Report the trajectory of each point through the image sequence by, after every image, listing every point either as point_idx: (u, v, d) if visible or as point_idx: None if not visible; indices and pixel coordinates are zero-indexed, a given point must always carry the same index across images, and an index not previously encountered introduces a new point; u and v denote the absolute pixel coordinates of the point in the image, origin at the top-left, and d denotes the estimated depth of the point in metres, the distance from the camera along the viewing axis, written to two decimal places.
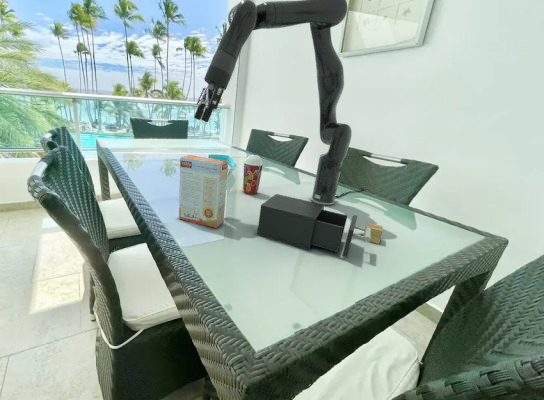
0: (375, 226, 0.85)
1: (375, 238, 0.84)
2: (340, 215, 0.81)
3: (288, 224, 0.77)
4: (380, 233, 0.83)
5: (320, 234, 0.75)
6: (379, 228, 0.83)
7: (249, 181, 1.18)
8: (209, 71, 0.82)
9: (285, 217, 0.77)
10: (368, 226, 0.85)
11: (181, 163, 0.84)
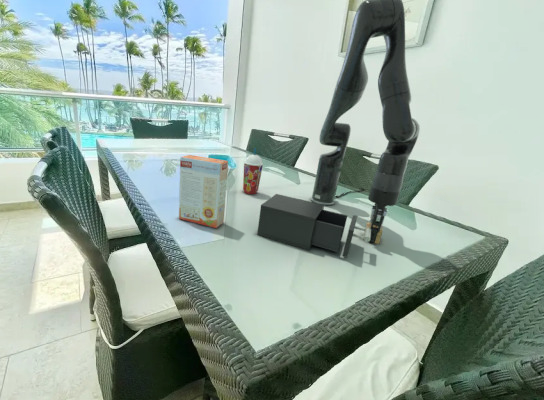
0: (375, 226, 0.85)
1: None
2: (340, 215, 0.81)
3: (288, 224, 0.77)
4: (380, 233, 0.83)
5: (320, 234, 0.75)
6: None
7: (249, 181, 1.18)
8: None
9: (285, 217, 0.77)
10: (368, 226, 0.85)
11: (181, 163, 0.84)
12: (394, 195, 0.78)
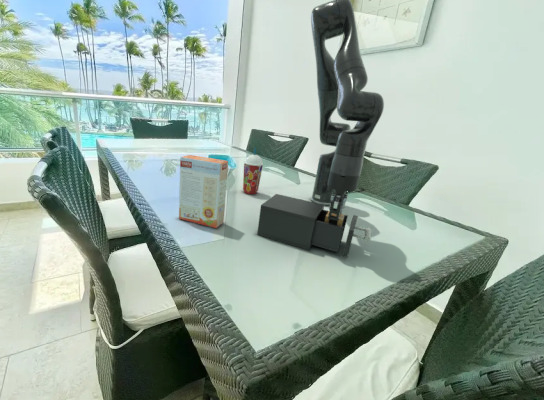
0: (336, 214, 0.78)
1: None
2: None
3: (288, 224, 0.77)
4: (340, 222, 0.75)
5: (320, 235, 0.75)
6: (339, 217, 0.76)
7: (249, 181, 1.18)
8: None
9: (285, 217, 0.77)
10: (328, 215, 0.77)
11: (181, 163, 0.84)
12: (353, 179, 0.70)
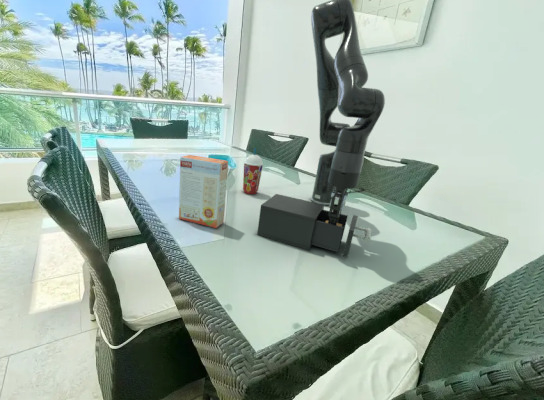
0: None
1: None
2: (340, 215, 0.81)
3: (288, 224, 0.77)
4: None
5: (320, 235, 0.75)
6: None
7: (249, 181, 1.18)
8: None
9: (285, 217, 0.77)
10: None
11: (181, 163, 0.84)
12: (354, 176, 0.70)
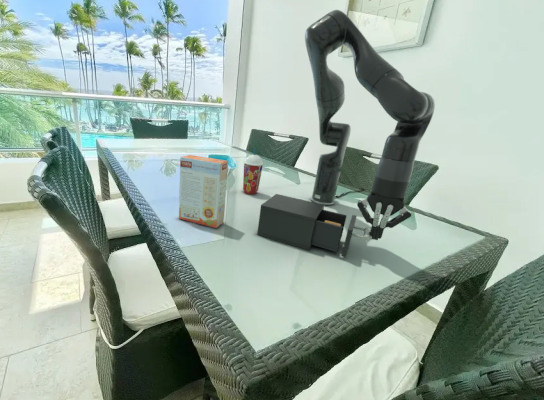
0: (333, 224, 0.79)
1: None
2: (339, 215, 0.81)
3: (288, 224, 0.77)
4: None
5: (319, 234, 0.75)
6: None
7: (249, 181, 1.18)
8: None
9: (285, 217, 0.77)
10: None
11: (181, 163, 0.84)
12: None
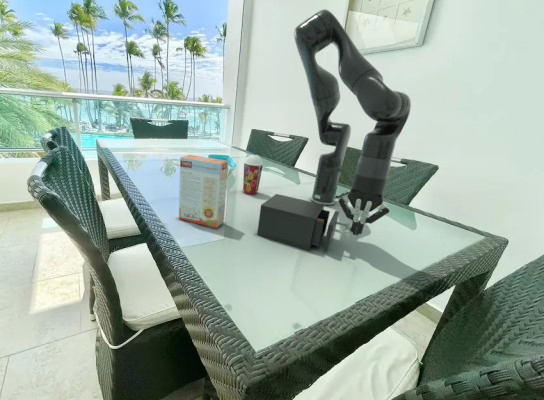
0: (316, 219, 0.81)
1: None
2: (323, 211, 0.83)
3: (288, 224, 0.77)
4: None
5: None
6: None
7: (249, 181, 1.18)
8: None
9: (285, 217, 0.77)
10: None
11: (181, 163, 0.84)
12: None
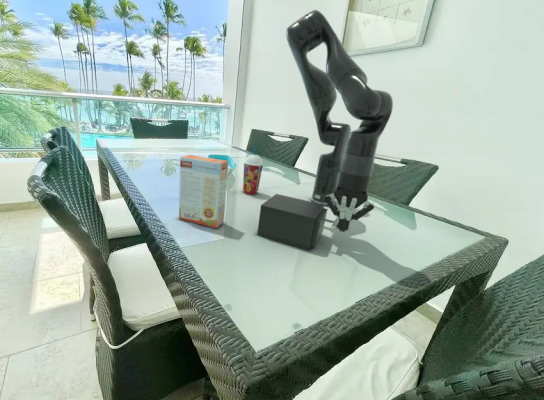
0: None
1: None
2: None
3: (288, 224, 0.77)
4: None
5: None
6: None
7: (249, 181, 1.18)
8: None
9: (285, 217, 0.77)
10: None
11: (181, 163, 0.84)
12: None
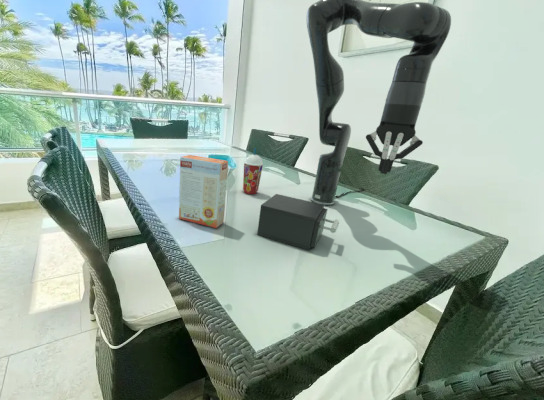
0: None
1: None
2: None
3: (288, 224, 0.77)
4: None
5: None
6: None
7: (249, 181, 1.18)
8: None
9: (285, 217, 0.77)
10: None
11: (181, 163, 0.84)
12: None
